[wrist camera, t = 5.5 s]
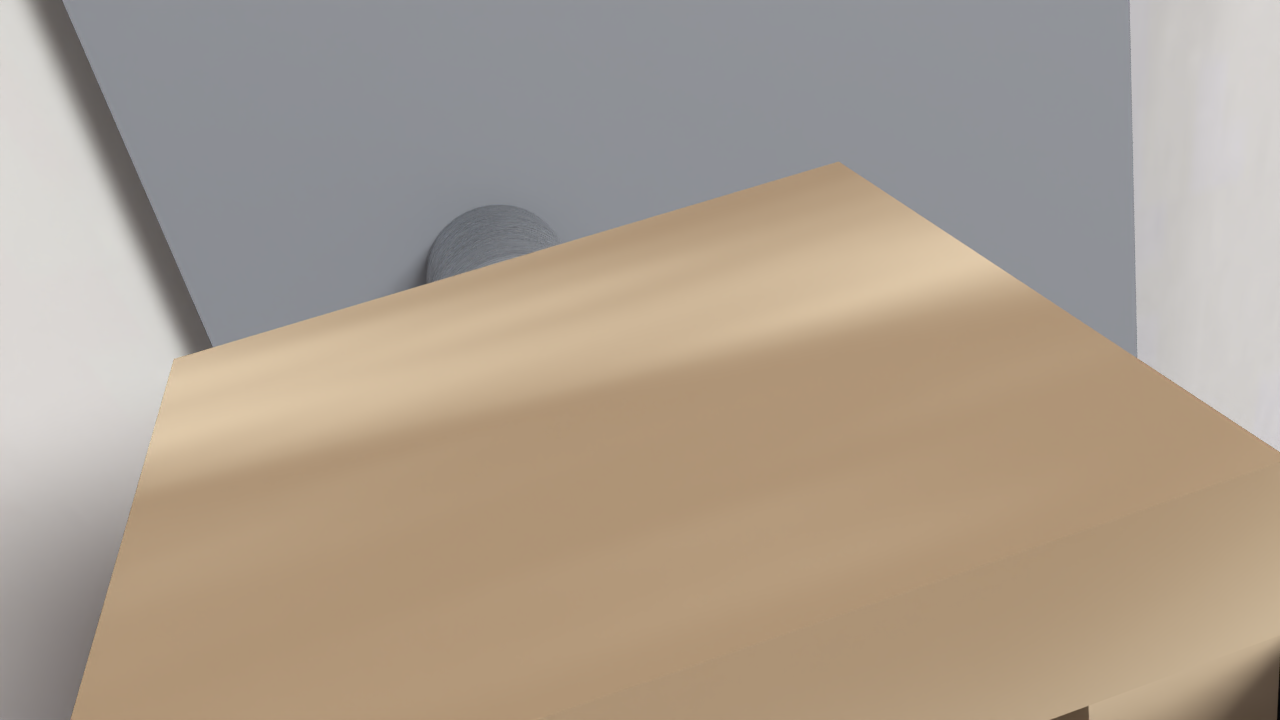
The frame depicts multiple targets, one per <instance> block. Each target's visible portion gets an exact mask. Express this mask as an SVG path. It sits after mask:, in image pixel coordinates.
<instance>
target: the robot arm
mask: <svg viewBox="0 0 1280 720" xmlns="http://www.w3.org/2000/svg"><path fill="white" fill-rule="evenodd" d="M1277 720H1280V667H1279V687H1278V707H1277Z"/></svg>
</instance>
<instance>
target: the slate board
mask: <svg viewBox="0 0 1280 720" xmlns="http://www.w3.org/2000/svg"><path fill="white" fill-rule="evenodd" d="M62 1H63V3H64V6H65V8H66V10H67V13H68V15H69V17H70V20H71V22H72V24H73V26H74V29H75V31H76V33H77V36H78V38H79V40H80V43H81V45H82V47H83V49H84V52H85V54H86V56H87V59H88V61H89V63H90V66H91V68H92V70H93V73H94V75H95V77H96V79H97V82H98V84H99V86H100V89H101V91H102V93H103V96H104V98H105V100H106V102H107V105H108V107H109V109H110V112H111V114H112V116H113V119H114V121H115V123H116V125H117V128H118V130H119V132H120V135H121V137H122V139H123V142H124V144H125V146H126V148H127V151H128V153H129V155H130V158H131V160H132V162H133V165H134V167H135V169H136V171H137V174H138V176H139V178H140V181H141V183H142V185H143V188H144V190H145V192H146V195H147V197H148V199H149V201H150V204H151V206H152V208H153V211H154V213H155V215H156V218H157V220H158V222H159V224H160V227H161V229H162V231H163V234H164V236H165V238H166V241H167V243H168V245H169V247H170V250H171V252H172V254H173V257H174V259H175V261H176V264H177V266H178V268H179V270H180V273H181V275H182V277H183V280H184V282H185V284H186V287H187V289H188V291H189V293H190V296H191V298H192V300H193V303H194V305H195V307H196V310H197V312H198V314H199V317H200V319H201V321H202V323H203V326H204V328H205V330H206V333H207V335H208V337H209V340H210V342H211V344H212V346H213V347H216V346H220V345H223V344H226V343H230V342H233V341H236V340H240V339H243V338H247V337H250V336H253V335H257V334H260V333H263V332H267V331H270V330H273V329H277V328H280V327H284V326H287V325H290V324H294V323H297V322H300V321H304V320H307V319H310V318H314V317H317V316H321V315H324V314H327V313H331V312H334V311H337V310H341V309H344V308H347V307H351V306H354V305H358V304H361V303H364V302H368V301H371V300H374V299H378V298H381V297H384V296H388V295H391V294H395V293H398V292H401V291H405V290H408V289H411V288H415V287H418V286H421V285H425V284H426V277H425V274H426V263H427V258H428V254H429V251H430V249H431V247H432V245H433V242H434V241H435V239H436V238H437V236H438V235H439V233H440V232H441V231H442V230H443V229H444V227H445V226H446V225H448V224H449V223H450V222H451V221H452V220H454V219H455V218H456V217H458V216H459V215H461V214H463V213H465V212H467V211H469V210H472V209H475V208H478V207H482V206H486V205H510V206H516V207H519V208H522V209H525V210H527V211H530V212H532V213H534V214H535V215H537V216H538V217H540V218H541V219H542V220H544V221H545V222H546V223H547V224H548V225H549V226H550V227H551V228H552V229H553V231H554V232H555V233H556V235H557V236H558V238H559V240H560V242H561V243H562V244H563V243H566V242H570V241H573V240H576V239H580V238H583V237H586V236H590V235H593V234H596V233H600V232H603V231H607V230H610V229H613V228H617V227H620V226H623V225H627V224H630V223H633V222H637V221H640V220H644V219H647V218H650V217H654V216H657V215H660V214H664V213H667V212H671V211H674V210H677V209H681V208H684V207H687V206H691V205H694V204H697V203H701V202H704V201H708V200H711V199H714V198H718V197H721V196H724V195H728V194H731V193H734V192H738V191H741V190H745V189H748V188H751V187H755V186H758V185H761V184H765V183H768V182H771V181H775V180H778V179H782V178H785V177H788V176H792V175H795V174H798V173H802V172H805V171H808V170H812V169H815V168H819V167H822V166H825V165H829V164H832V163H835V162H840V163H842V164H843V165H845V166H846V167H848V168H849V169H851V170H852V171H854V172H855V173H857V174H858V175H860V176H861V177H863V178H865V179H866V180H868V181H869V182H871V183H872V184H874V185H875V186H877V187H878V188H880V189H881V190H883V191H884V192H886V193H887V194H889V195H890V196H892V197H893V198H895V199H896V200H898V201H899V202H901V203H902V204H904V205H905V206H907V207H908V208H910V209H912V210H913V211H915V212H916V213H918V214H919V215H921V216H922V217H924V218H925V219H927V220H928V221H930V222H931V223H933V224H934V225H936V226H937V227H939V228H940V229H942V230H943V231H945V232H946V233H948V234H949V235H951V236H952V237H954V238H956V239H957V240H959V241H960V242H962V243H963V244H965V245H966V246H968V247H969V248H971V249H972V250H974V251H975V252H977V253H978V254H980V255H981V256H983V257H984V258H986V259H987V260H989V261H990V262H992V263H993V264H995V265H996V266H998V267H1000V268H1001V269H1003V270H1004V271H1006V272H1007V273H1009V274H1010V275H1012V276H1013V277H1015V278H1016V279H1018V280H1019V281H1021V282H1022V283H1024V284H1025V285H1027V286H1028V287H1030V288H1031V289H1033V290H1034V291H1036V292H1037V293H1039V294H1040V295H1042V296H1044V297H1045V298H1047V299H1048V300H1050V301H1051V302H1053V303H1054V304H1056V305H1057V306H1059V307H1060V308H1062V309H1063V310H1065V311H1066V312H1068V313H1069V314H1071V315H1072V316H1074V317H1075V318H1077V319H1078V320H1080V321H1081V322H1083V323H1084V324H1086V325H1088V326H1089V327H1091V328H1092V329H1094V330H1095V331H1097V332H1098V333H1100V334H1101V335H1103V336H1104V337H1106V338H1107V339H1109V340H1110V341H1112V342H1113V343H1115V344H1116V345H1118V346H1119V347H1121V348H1122V349H1124V350H1125V351H1127V352H1128V353H1130V354H1132V355H1133V356H1135V357H1136V358H1137V325H1136V279H1135V233H1134V187H1133V141H1132V94H1131V48H1130V2H1129V0H62Z"/></svg>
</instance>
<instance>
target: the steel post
mask: <svg viewBox="0 0 1280 720" xmlns="http://www.w3.org/2000/svg"><path fill="white" fill-rule="evenodd" d="M559 244H562V243H561V242H560V240H559V238H558V236H557V235H556V233H555V232H554V231H553V229H552V228H551V227H550V226H549V225H548V224H547V223H546V222H545V221H544V220H542V219H541V218H540V217H538V216H537V215H535V214H534V213H532V212H530V211H527V210H525V209H522V208H519V207H516V206H510V205H486V206H482V207H478V208H475V209H472V210H469V211H467V212H465V213H463V214H461V215H459V216H458V217H456V218H455V219H454V220H452V221H451V222H450V223H449V224H448V225H446V226H445V227H444V229H443V230H442V231H441V232H440V233H439V235H438V236H437V238H436V239H435V241H434V242H433V245H432V247H431V249H430V251H429V254H428V258H427V263H426V274H425V277H426V284H428V283H432V282H435V281H438V280H442V279H445V278H448V277H452V276H455V275H459V274H462V273H465V272H469V271H472V270H475V269H479V268H482V267H485V266H489V265H492V264H496V263H499V262H502V261H506V260H509V259H512V258H516V257H519V256H522V255H526V254H529V253H533V252H536V251H539V250H543V249H546V248H549V247H553V246H556V245H559Z"/></svg>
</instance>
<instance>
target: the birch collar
mask: <svg viewBox="0 0 1280 720" xmlns="http://www.w3.org/2000/svg"><path fill="white" fill-rule="evenodd" d="M1279 667H1280V452H1279V451H1277V450H1276V449H1274V448H1273V447H1271V446H1270V445H1268V444H1267V443H1265V442H1264V441H1262V440H1260V439H1259V438H1257V437H1256V436H1254V435H1253V434H1251V433H1250V432H1248V431H1247V430H1245V429H1244V428H1242V427H1241V426H1239V425H1238V424H1236V423H1235V422H1233V421H1232V420H1230V419H1229V418H1227V417H1226V416H1224V415H1223V414H1221V413H1220V412H1218V411H1216V410H1215V409H1213V408H1212V407H1210V406H1209V405H1207V404H1206V403H1204V402H1203V401H1201V400H1200V399H1198V398H1197V397H1195V396H1194V395H1192V394H1191V393H1189V392H1188V391H1186V390H1185V389H1183V388H1182V387H1180V386H1179V385H1177V384H1176V383H1174V382H1172V381H1171V380H1169V379H1168V378H1166V377H1165V376H1163V375H1162V374H1160V373H1159V372H1157V371H1156V370H1154V369H1153V368H1151V367H1150V366H1148V365H1147V364H1145V363H1144V362H1142V361H1141V360H1139V359H1138V358H1136V357H1135V356H1133V355H1132V354H1130V353H1128V352H1127V351H1125V350H1124V349H1122V348H1121V347H1119V346H1118V345H1116V344H1115V343H1113V342H1112V341H1110V340H1109V339H1107V338H1106V337H1104V336H1103V335H1101V334H1100V333H1098V332H1097V331H1095V330H1094V329H1092V328H1091V327H1089V326H1088V325H1086V324H1084V323H1083V322H1081V321H1080V320H1078V319H1077V318H1075V317H1074V316H1072V315H1071V314H1069V313H1068V312H1066V311H1065V310H1063V309H1062V308H1060V307H1059V306H1057V305H1056V304H1054V303H1053V302H1051V301H1050V300H1048V299H1047V298H1045V297H1044V296H1042V295H1040V294H1039V293H1037V292H1036V291H1034V290H1033V289H1031V288H1030V287H1028V286H1027V285H1025V284H1024V283H1022V282H1021V281H1019V280H1018V279H1016V278H1015V277H1013V276H1012V275H1010V274H1009V273H1007V272H1006V271H1004V270H1003V269H1001V268H1000V267H998V266H996V265H995V264H993V263H992V262H990V261H989V260H987V259H986V258H984V257H983V256H981V255H980V254H978V253H977V252H975V251H974V250H972V249H971V248H969V247H968V246H966V245H965V244H963V243H962V242H960V241H959V240H957V239H956V238H954V237H952V236H951V235H949V234H948V233H946V232H945V231H943V230H942V229H940V228H939V227H937V226H936V225H934V224H933V223H931V222H930V221H928V220H927V219H925V218H924V217H922V216H921V215H919V214H918V213H916V212H915V211H913V210H912V209H910V208H908V207H907V206H905V205H904V204H902V203H901V202H899V201H898V200H896V199H895V198H893V197H892V196H890V195H889V194H887V193H886V192H884V191H883V190H881V189H880V188H878V187H877V186H875V185H874V184H872V183H871V182H869V181H868V180H866V179H865V178H863V177H861V176H860V175H858V174H857V173H855V172H854V171H852V170H851V169H849V168H848V167H846V166H845V165H843V164H842V163H840V162H835V163H832V164H829V165H825V166H822V167H819V168H815V169H812V170H808V171H805V172H802V173H798V174H795V175H792V176H788V177H785V178H782V179H778V180H775V181H771V182H768V183H765V184H761V185H758V186H755V187H751V188H748V189H745V190H741V191H738V192H734V193H731V194H728V195H724V196H721V197H718V198H714V199H711V200H708V201H704V202H701V203H697V204H694V205H691V206H687V207H684V208H681V209H677V210H674V211H671V212H667V213H664V214H660V215H657V216H654V217H650V218H647V219H644V220H640V221H637V222H633V223H630V224H627V225H623V226H620V227H617V228H613V229H610V230H607V231H603V232H600V233H596V234H593V235H590V236H586V237H583V238H580V239H576V240H573V241H570V242H566V243H563V244H559V245H556V246H553V247H549V248H546V249H543V250H539V251H536V252H533V253H529V254H526V255H522V256H519V257H516V258H512V259H509V260H506V261H502V262H499V263H496V264H492V265H489V266H485V267H482V268H479V269H475V270H472V271H469V272H465V273H462V274H459V275H455V276H452V277H448V278H445V279H442V280H438V281H435V282H432V283H428V284H425V285H421V286H418V287H415V288H411V289H408V290H405V291H401V292H398V293H395V294H391V295H388V296H384V297H381V298H378V299H374V300H371V301H368V302H364V303H361V304H358V305H354V306H351V307H347V308H344V309H341V310H337V311H334V312H331V313H327V314H324V315H321V316H317V317H314V318H310V319H307V320H304V321H300V322H297V323H294V324H290V325H287V326H284V327H280V328H277V329H273V330H270V331H267V332H263V333H260V334H257V335H253V336H250V337H247V338H243V339H240V340H236V341H233V342H230V343H226V344H223V345H220V346H216V347H213V348H209V349H206V350H203V351H199V352H196V353H193V354H189V355H186V356H183V357H179V358H176V359H174V360H173V364H172V367H171V371H170V374H169V378H168V381H167V385H166V388H165V392H164V395H163V399H162V402H161V406H160V409H159V413H158V416H157V420H156V423H155V427H154V430H153V434H152V437H151V441H150V444H149V448H148V451H147V455H146V458H145V462H144V465H143V468H142V472H141V475H140V479H139V482H138V486H137V489H136V493H135V496H134V500H133V503H132V507H131V510H130V514H129V517H128V521H127V524H126V528H125V531H124V535H123V538H122V542H121V545H120V549H119V552H118V556H117V559H116V563H115V566H114V570H113V573H112V577H111V580H110V584H109V587H108V590H107V594H106V597H105V601H104V604H103V608H102V611H101V615H100V618H99V622H98V625H97V629H96V632H95V636H94V639H93V643H92V646H91V650H90V653H89V657H88V660H87V664H86V667H85V671H84V674H83V678H82V681H81V685H80V688H79V692H78V695H77V699H76V702H75V706H74V709H73V713H72V716H71V719H70V720H1277V707H1278V687H1279Z"/></svg>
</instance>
